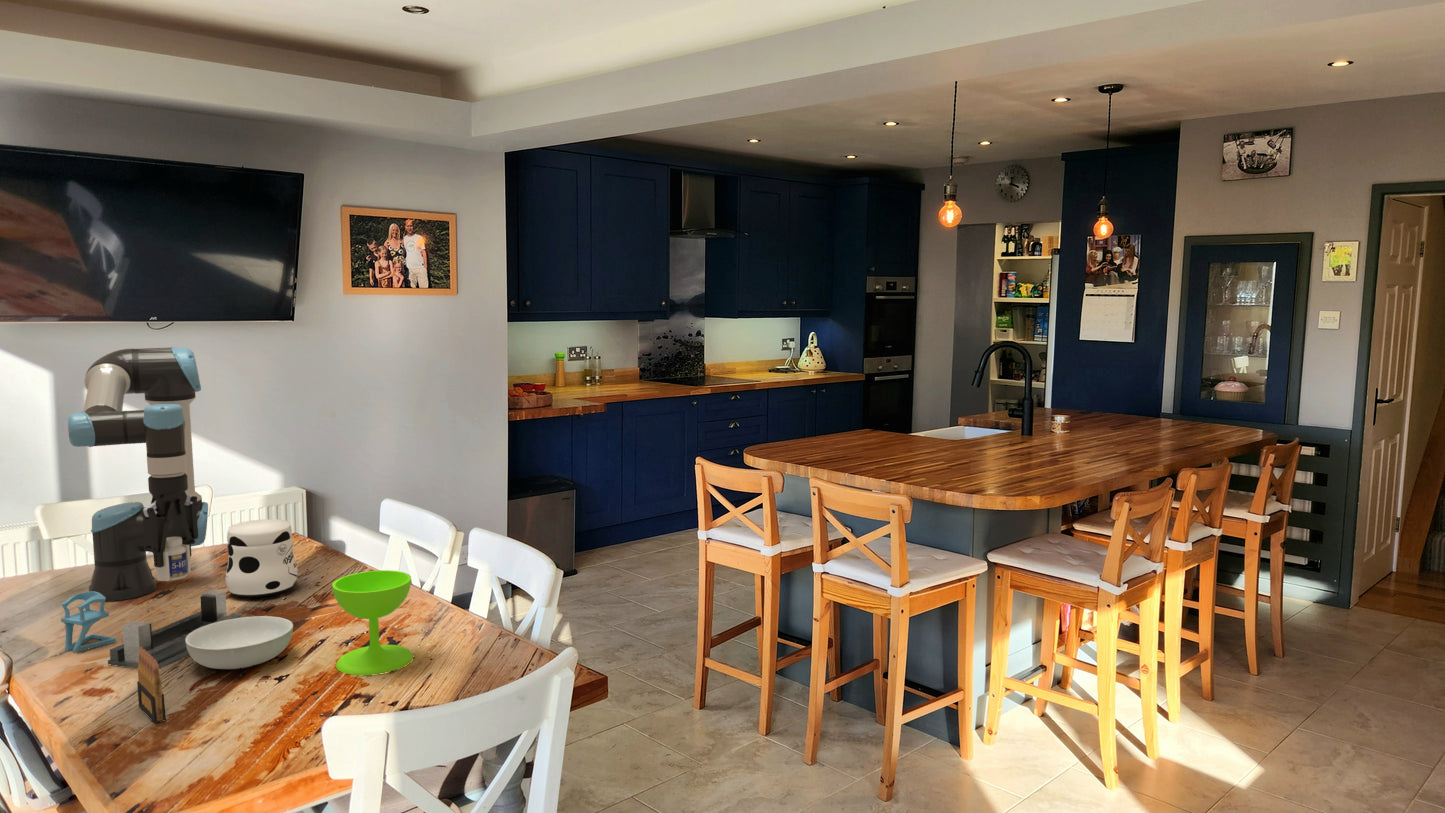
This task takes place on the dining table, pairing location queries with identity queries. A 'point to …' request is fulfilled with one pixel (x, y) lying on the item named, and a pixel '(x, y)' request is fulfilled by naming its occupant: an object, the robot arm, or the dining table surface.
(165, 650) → the rail
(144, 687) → the ammunition clip
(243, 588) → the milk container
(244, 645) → the serving bowl
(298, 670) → the dining table surface
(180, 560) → the pill bottle
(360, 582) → the wineglass
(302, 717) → the dining table surface
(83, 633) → the chair
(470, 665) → the dining table surface
